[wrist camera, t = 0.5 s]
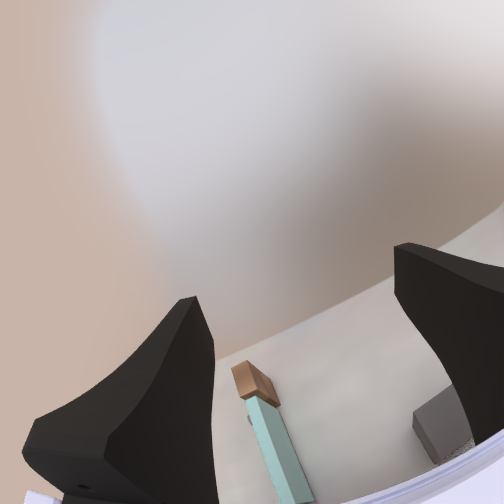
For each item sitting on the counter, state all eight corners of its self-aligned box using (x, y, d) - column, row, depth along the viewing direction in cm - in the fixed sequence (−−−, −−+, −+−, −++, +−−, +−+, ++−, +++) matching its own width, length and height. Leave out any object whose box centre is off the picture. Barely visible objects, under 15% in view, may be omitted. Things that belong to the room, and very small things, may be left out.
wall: (348, 563, 13) (331, 582, 10) (329, 570, 13) (308, 588, 10) (270, 379, 28) (244, 358, 25) (256, 386, 29) (228, 366, 25)
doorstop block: (475, 433, 16) (493, 420, 12) (433, 464, 16) (441, 459, 12) (452, 398, 19) (462, 375, 15) (412, 426, 19) (413, 411, 16)
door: (315, 500, 18) (295, 503, 15) (294, 508, 18) (271, 511, 15) (278, 410, 26) (255, 395, 23) (261, 417, 26) (236, 404, 23)
